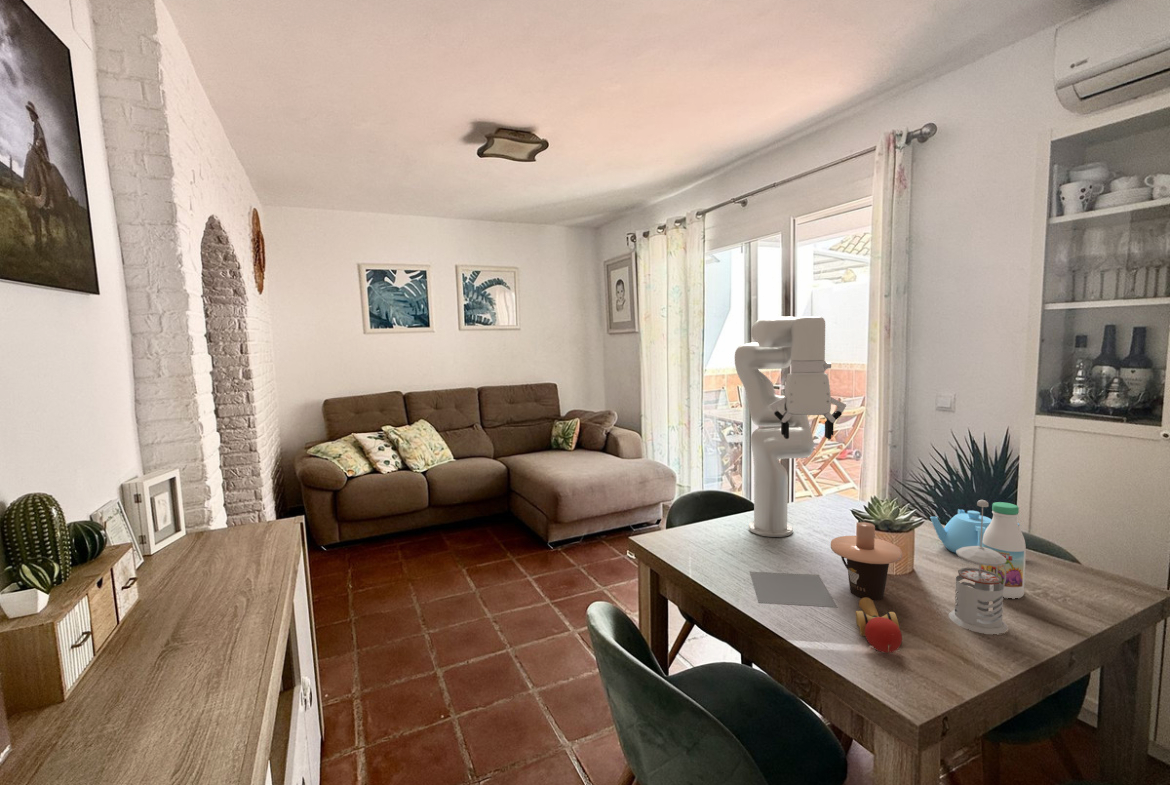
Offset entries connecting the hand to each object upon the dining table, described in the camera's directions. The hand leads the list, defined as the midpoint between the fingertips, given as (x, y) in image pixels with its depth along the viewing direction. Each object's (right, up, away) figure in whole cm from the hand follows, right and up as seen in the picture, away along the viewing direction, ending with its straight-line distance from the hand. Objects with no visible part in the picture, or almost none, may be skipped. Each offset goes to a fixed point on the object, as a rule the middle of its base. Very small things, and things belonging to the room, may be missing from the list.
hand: (806, 438), depth 131 cm
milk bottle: (+39, -34, -11) cm, 53 cm away
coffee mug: (+9, -34, -11) cm, 37 cm away
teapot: (+49, -31, +12) cm, 60 cm away
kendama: (+3, -36, -26) cm, 45 cm away
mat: (-7, -34, -9) cm, 36 cm away
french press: (+26, -35, -23) cm, 49 cm away
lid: (+8, -24, -11) cm, 28 cm away
